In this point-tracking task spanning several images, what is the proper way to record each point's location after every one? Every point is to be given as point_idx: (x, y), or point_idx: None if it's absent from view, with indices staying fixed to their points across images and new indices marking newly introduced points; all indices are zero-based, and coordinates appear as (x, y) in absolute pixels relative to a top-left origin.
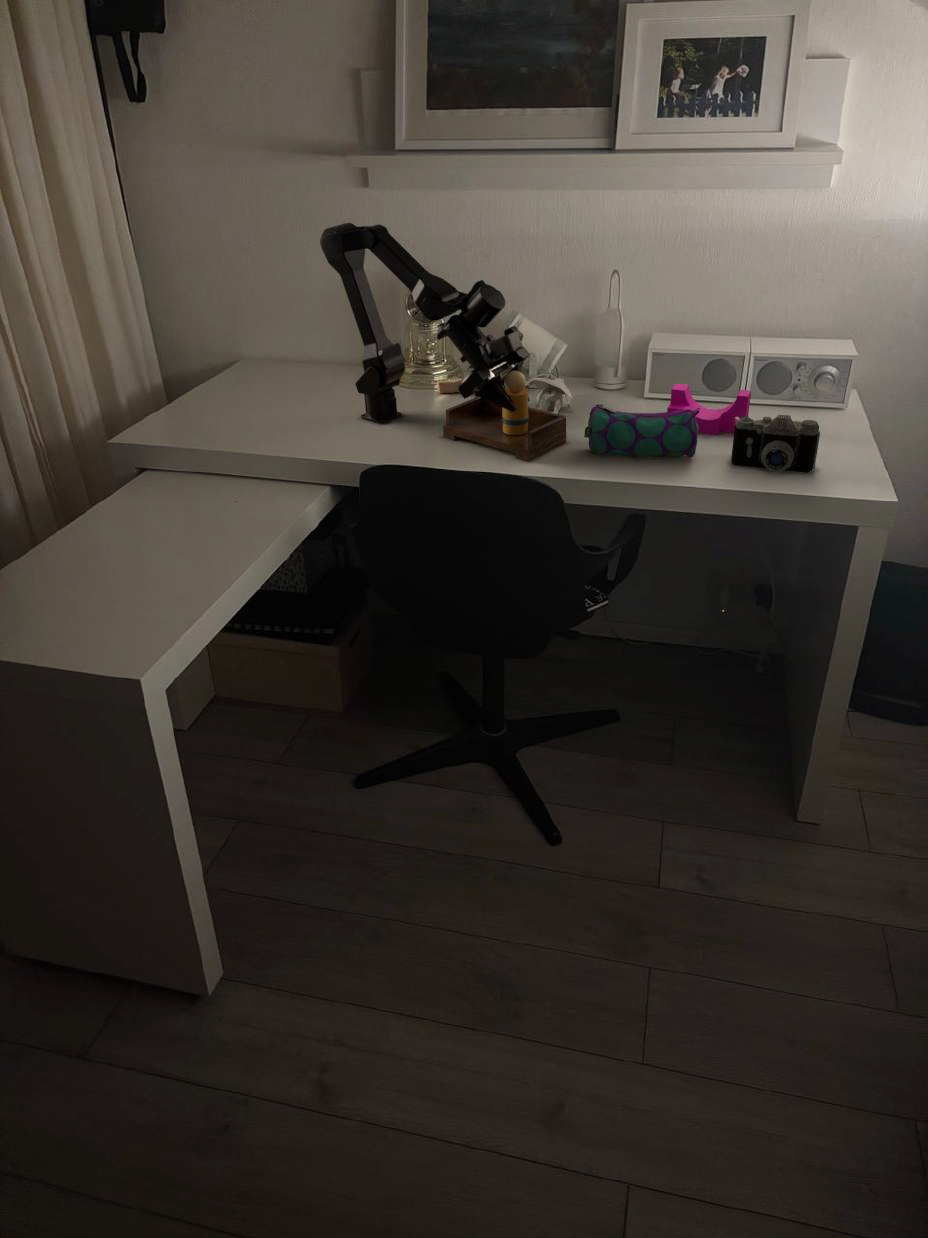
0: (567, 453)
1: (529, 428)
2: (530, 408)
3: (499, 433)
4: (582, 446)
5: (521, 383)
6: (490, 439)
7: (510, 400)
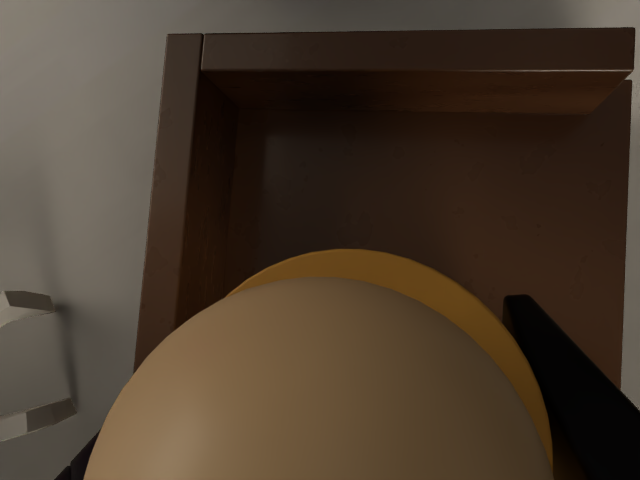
0: (361, 11)
1: None
2: None
3: None
4: (235, 8)
5: (388, 290)
6: None
7: (565, 367)
